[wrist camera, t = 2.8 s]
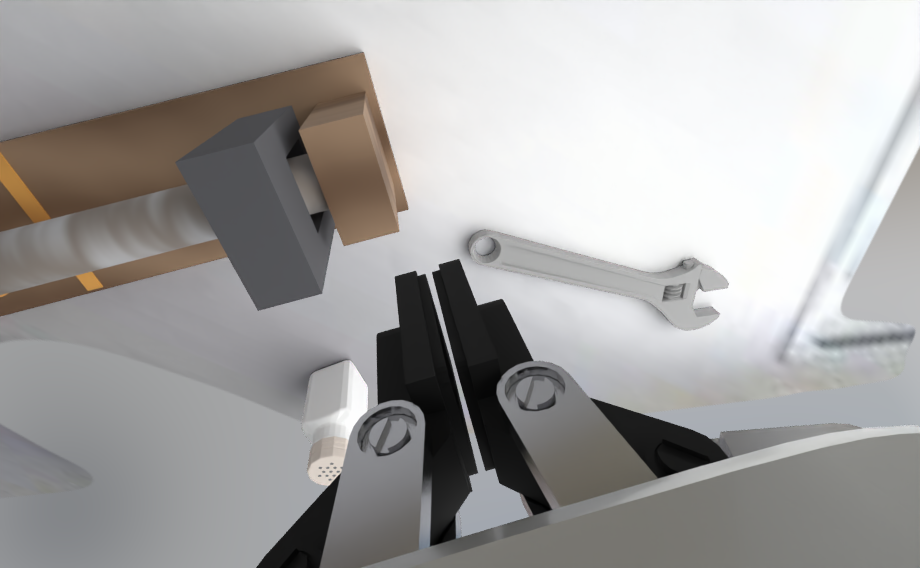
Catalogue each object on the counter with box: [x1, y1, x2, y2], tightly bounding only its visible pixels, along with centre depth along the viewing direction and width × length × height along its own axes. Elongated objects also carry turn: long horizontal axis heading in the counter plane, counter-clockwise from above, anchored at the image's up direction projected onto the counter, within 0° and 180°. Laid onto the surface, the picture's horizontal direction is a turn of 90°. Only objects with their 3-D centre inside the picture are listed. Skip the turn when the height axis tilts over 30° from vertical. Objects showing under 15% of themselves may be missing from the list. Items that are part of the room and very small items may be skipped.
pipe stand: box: [0, 52, 408, 316], centre depth 25 cm, size 10×32×9 cm, turn 102°
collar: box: [175, 105, 335, 311], centre depth 22 cm, size 7×3×9 cm, turn 12°
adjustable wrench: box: [468, 230, 729, 330], centre depth 37 cm, size 25×6×2 cm, turn 67°
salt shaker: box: [301, 360, 368, 486], centre depth 35 cm, size 4×4×10 cm
